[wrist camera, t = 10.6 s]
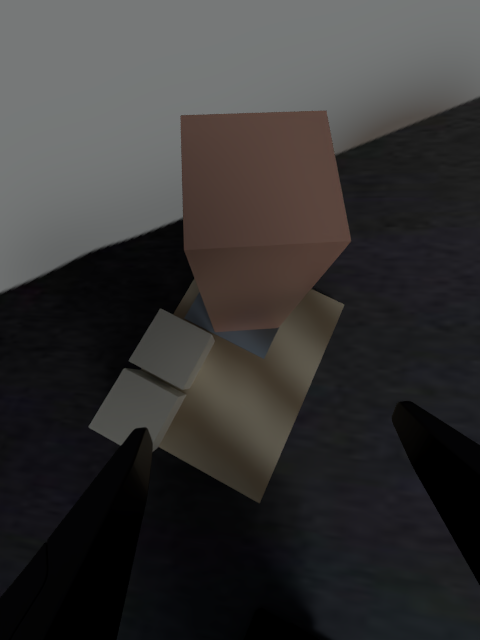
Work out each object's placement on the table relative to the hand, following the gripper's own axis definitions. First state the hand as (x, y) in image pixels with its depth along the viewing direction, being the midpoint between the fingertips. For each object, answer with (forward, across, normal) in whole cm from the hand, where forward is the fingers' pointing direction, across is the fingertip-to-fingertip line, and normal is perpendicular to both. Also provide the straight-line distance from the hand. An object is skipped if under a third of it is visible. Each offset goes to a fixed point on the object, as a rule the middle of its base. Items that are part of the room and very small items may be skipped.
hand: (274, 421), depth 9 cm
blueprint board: (+10, +1, +6) cm, 12 cm away
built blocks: (+9, +6, +6) cm, 12 cm away
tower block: (+13, 0, +2) cm, 13 cm away
